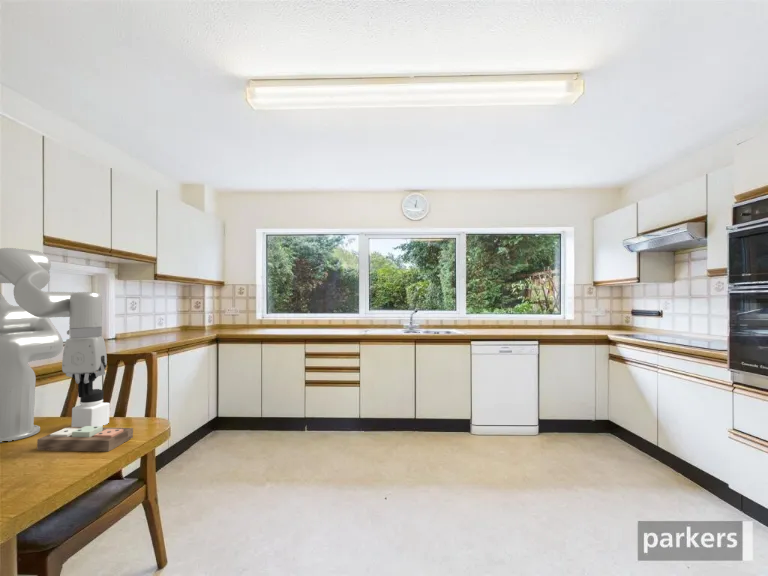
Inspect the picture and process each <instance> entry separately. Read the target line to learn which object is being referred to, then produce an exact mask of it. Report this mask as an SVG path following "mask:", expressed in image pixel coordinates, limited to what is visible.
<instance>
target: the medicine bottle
mask: <svg viewBox="0 0 768 576" xmlns="http://www.w3.org/2000/svg"><path fill="white" fill-rule="evenodd" d="M79 398H80V399H79V404H80V405H76V406H74V407H72V409H71V427H85V426H103V425H104V426H107V425H109V424H110V411H111V410H110V408H111V407H110V406H111V405H110V402H104V390H103V389H101V388H93V392H92V395H90V396H87V397H79ZM108 423H109V424H108ZM104 426H103V427H104Z"/></svg>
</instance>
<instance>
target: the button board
mask: <svg viewBox="0 0 768 576" xmlns="http://www.w3.org/2000/svg"><path fill="white" fill-rule="evenodd" d="M65 428H82V427H72V426H66V427H65ZM106 429H124V431H123V432H122V433H120V434H118V435H116V436H114V437H112V438H106V437H94V435H93V436H91V437H72V435H70V436H68V437H51V436H50V434H51V433H49V434H47V435H45V436H42V437H40V438H38V439H37V440H36V441H37V442H36V450H37V451H57V452H58V451H64V452H65V451H66V452H69V451H70V452H75V451H76V452H110V451H112V450H114V449H116V448H117V447H119V446H121V445H122V444H124V442H125V443H127V442H128V441H130V440H132V439H133V438H134V428H133V427H103V431H104V430H106ZM131 438H132V439H131ZM129 439H130V440H129Z"/></svg>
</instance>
